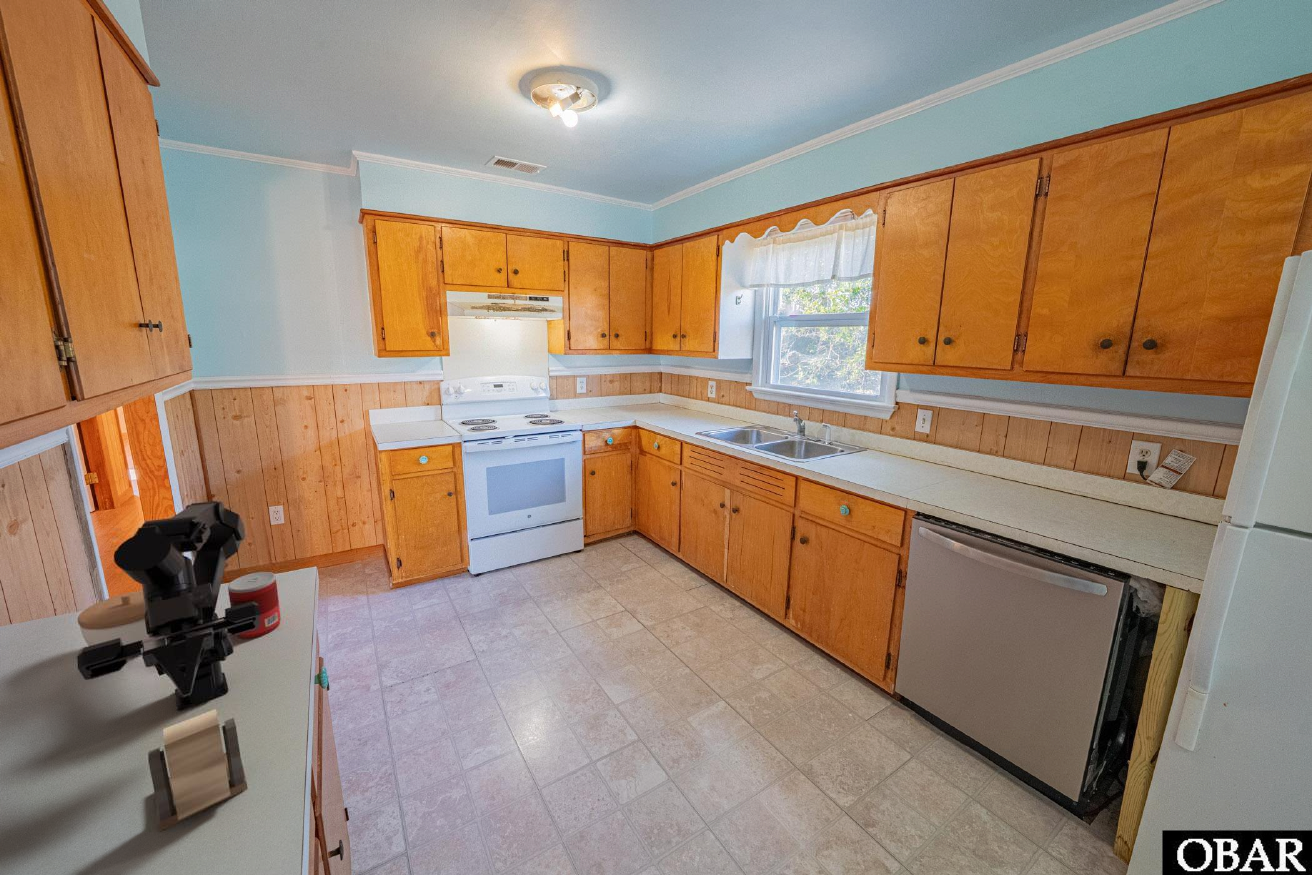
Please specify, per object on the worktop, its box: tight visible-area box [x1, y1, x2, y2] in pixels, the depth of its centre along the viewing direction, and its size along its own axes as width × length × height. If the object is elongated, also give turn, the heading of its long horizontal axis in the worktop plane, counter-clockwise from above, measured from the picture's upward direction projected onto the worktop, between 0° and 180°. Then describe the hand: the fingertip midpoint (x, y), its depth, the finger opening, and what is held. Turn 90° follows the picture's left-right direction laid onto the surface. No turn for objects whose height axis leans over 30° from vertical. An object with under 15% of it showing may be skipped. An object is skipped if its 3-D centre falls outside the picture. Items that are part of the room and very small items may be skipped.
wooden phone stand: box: [147, 717, 248, 832], centre depth 67 cm, size 8×9×10 cm
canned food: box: [227, 571, 282, 639], centre depth 103 cm, size 8×8×11 cm
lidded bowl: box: [77, 589, 149, 647], centre depth 96 cm, size 13×13×11 cm
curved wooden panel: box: [162, 708, 230, 820], centre depth 64 cm, size 4×5×11 cm
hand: (186, 694), depth 69 cm, fingers closed
